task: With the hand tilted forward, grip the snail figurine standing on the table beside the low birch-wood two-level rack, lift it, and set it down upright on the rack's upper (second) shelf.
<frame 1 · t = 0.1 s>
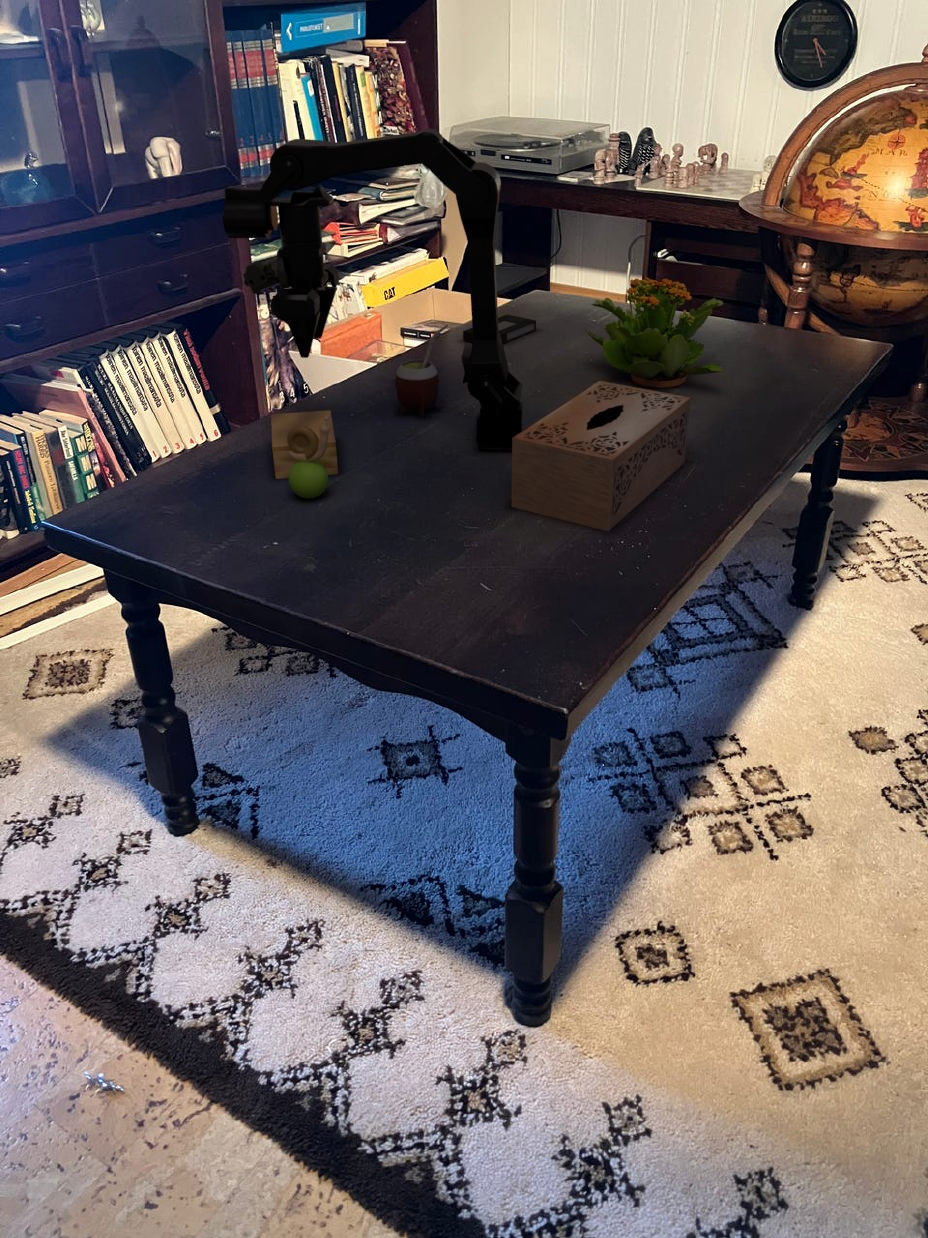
hand: (311, 347, 156), 15 cm above the table, tool pointing down, fingers open, 9 cm apart
snail figurine: (313, 498, 146), on the table
mate gourd: (421, 412, 174), on the table
potted flower: (658, 382, 185), on the table
vhs tape: (500, 336, 209), on the table
rack: (305, 459, 158), on the table
tissue box cover: (601, 485, 149), on the table
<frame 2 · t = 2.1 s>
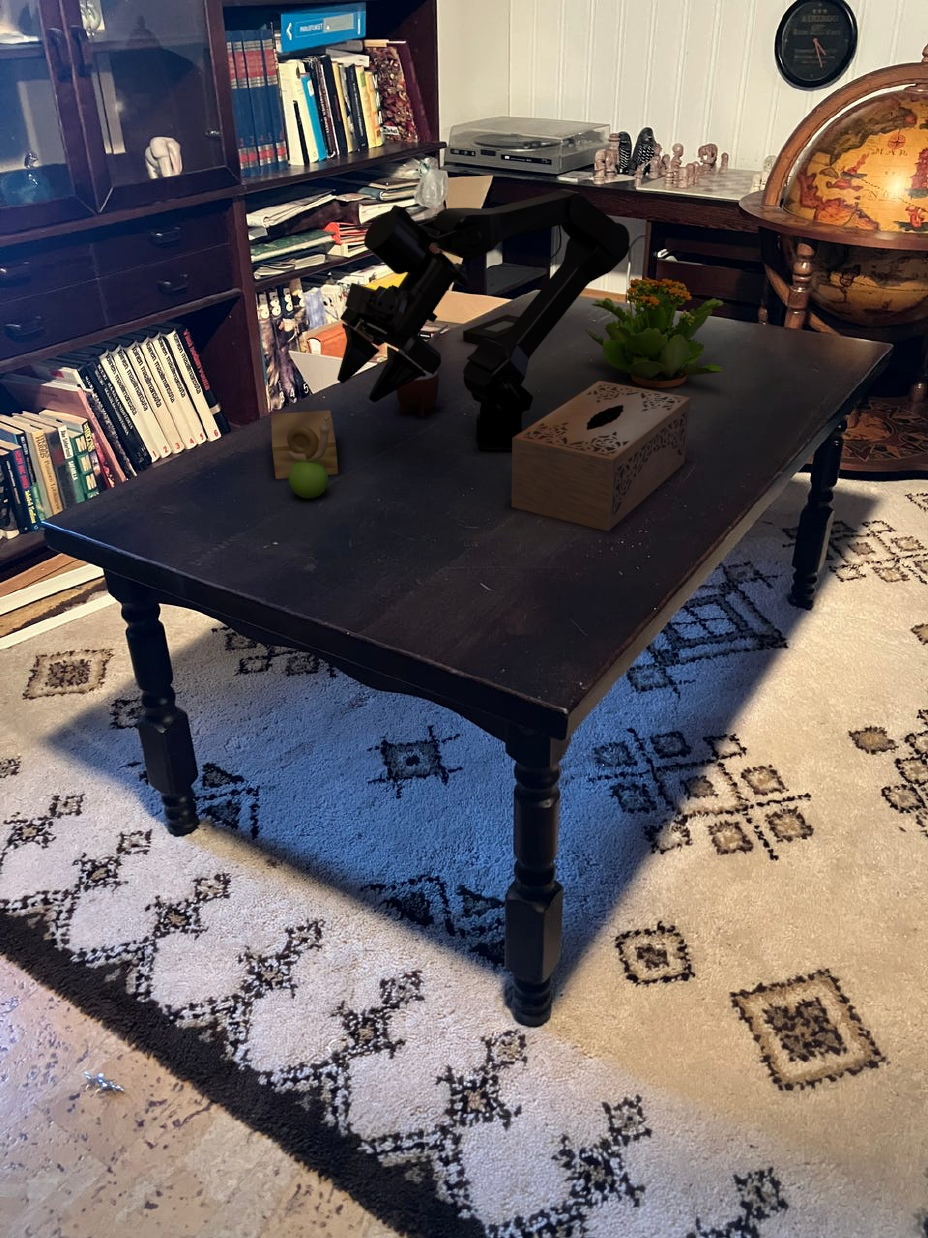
hand: (355, 390, 143), 13 cm above the table, tool tilted 45°, fingers open, 9 cm apart
nothing on the table moved.
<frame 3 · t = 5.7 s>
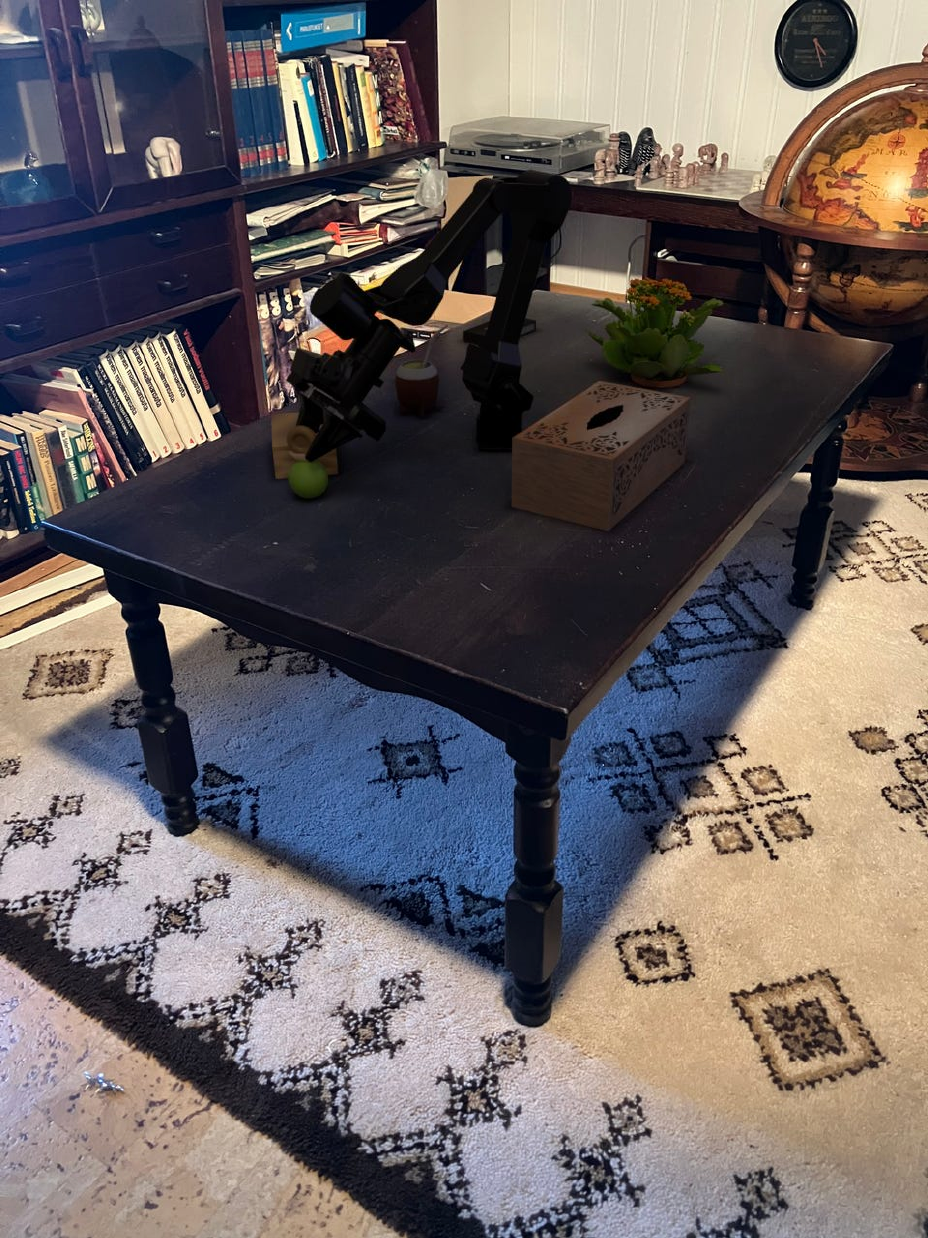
hand: (299, 454, 142), 7 cm above the table, tool tilted 45°, fingers closed on snail figurine, 4 cm apart
snail figurine: (313, 498, 146), on the table, touching gripper
everything else where it was.
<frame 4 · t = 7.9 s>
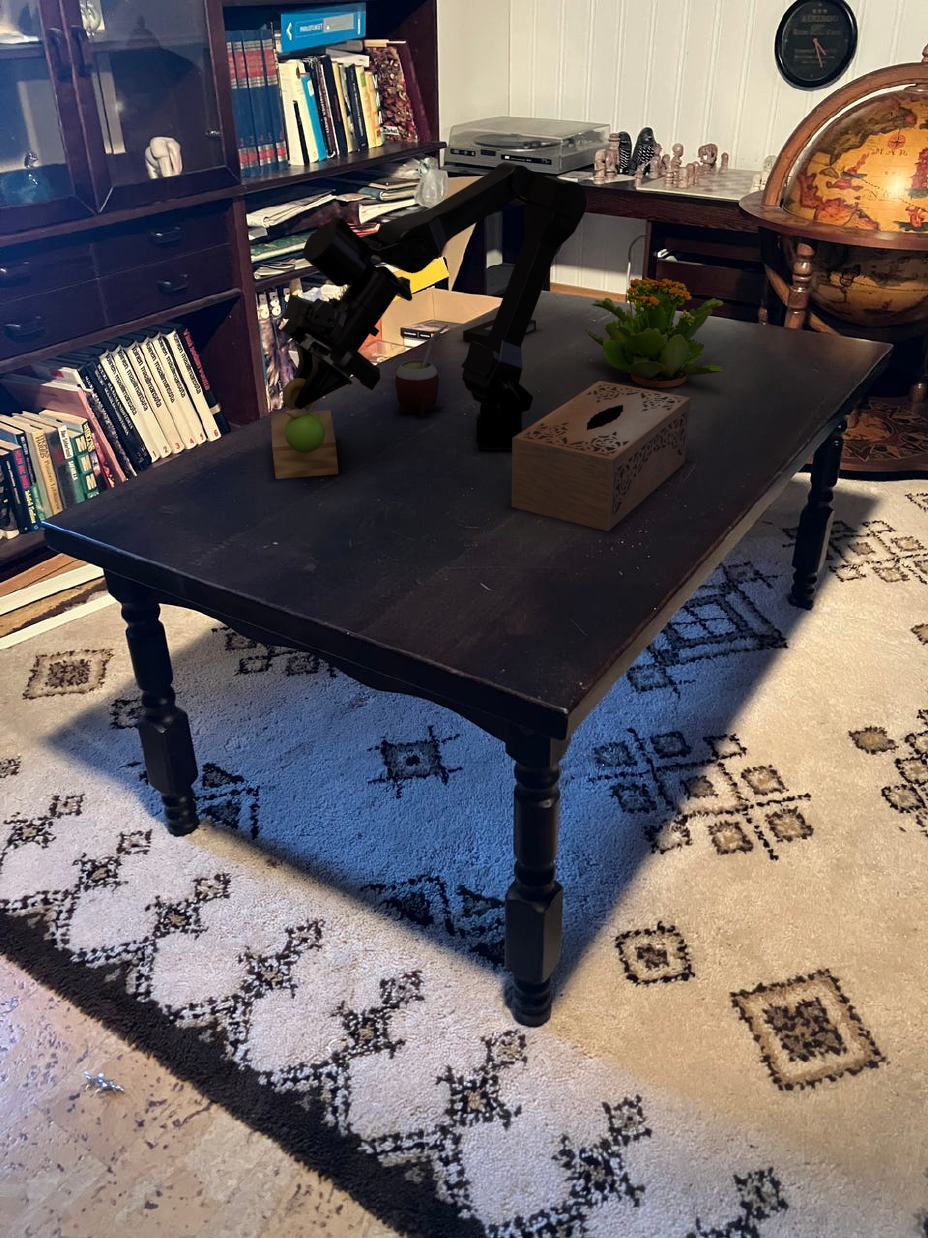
hand: (293, 405, 140), 13 cm above the table, tool tilted 45°, fingers closed on snail figurine
snail figurine: (310, 451, 144), point 6 cm above the table, touching gripper
everything else where it was.
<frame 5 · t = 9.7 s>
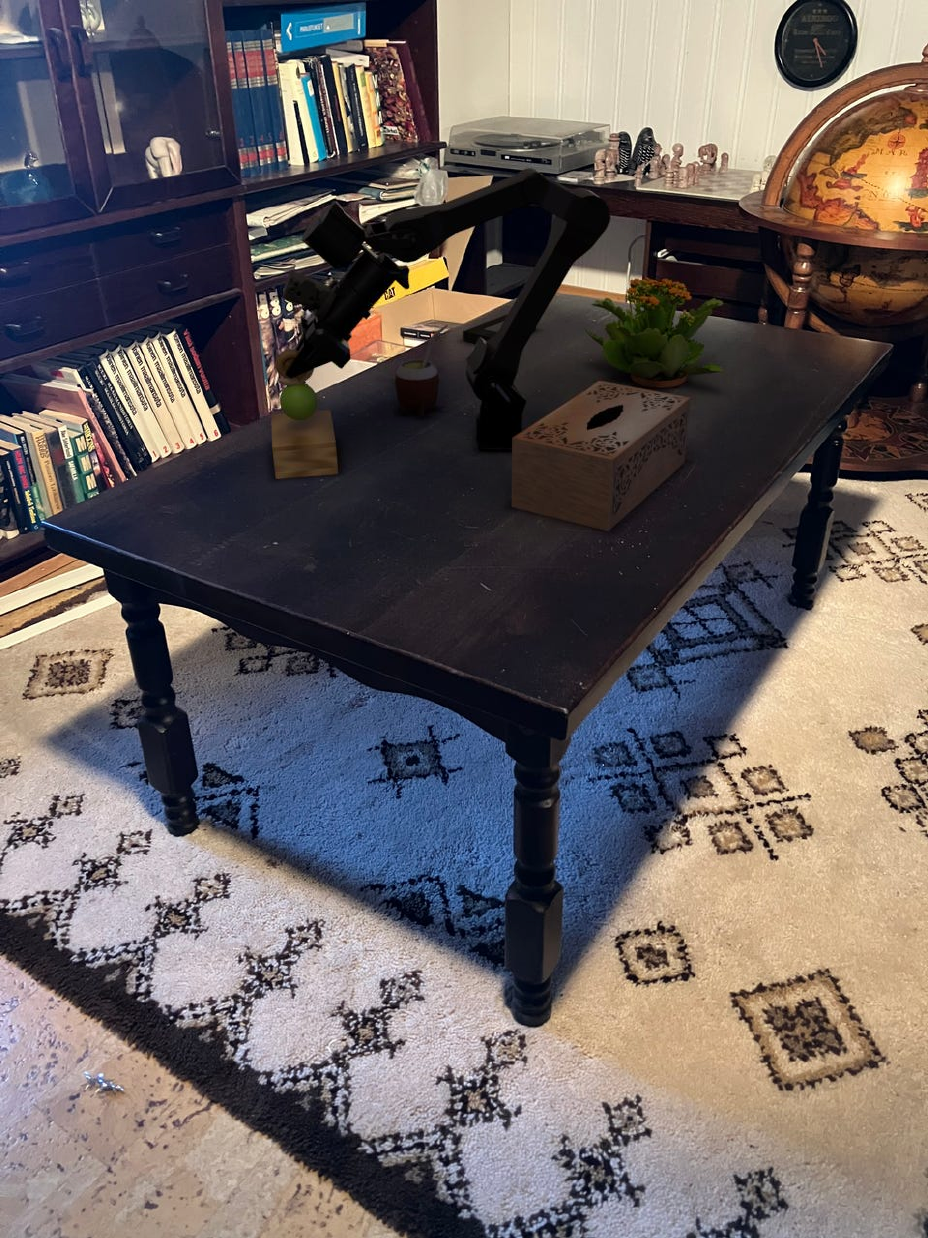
hand: (287, 374, 150), 13 cm above the table, tool tilted 45°, fingers closed on snail figurine
snail figurine: (304, 419, 154), point 6 cm above the table, touching gripper
everything else where it was.
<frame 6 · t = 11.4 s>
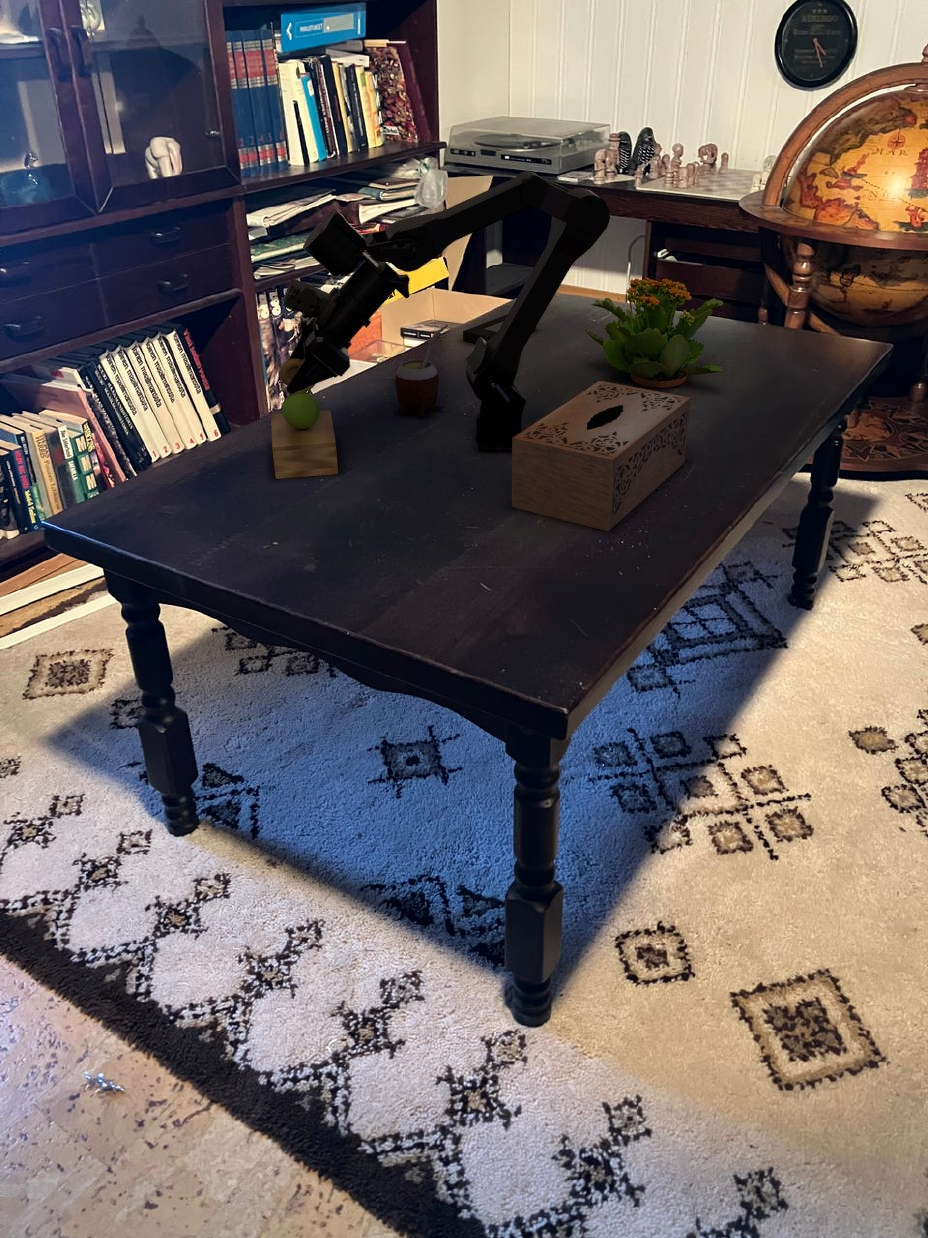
hand: (287, 380, 151), 12 cm above the table, tool tilted 45°, fingers open, 9 cm apart
snail figurine: (306, 428, 155), point 5 cm above the table, touching rack
everything else where it was.
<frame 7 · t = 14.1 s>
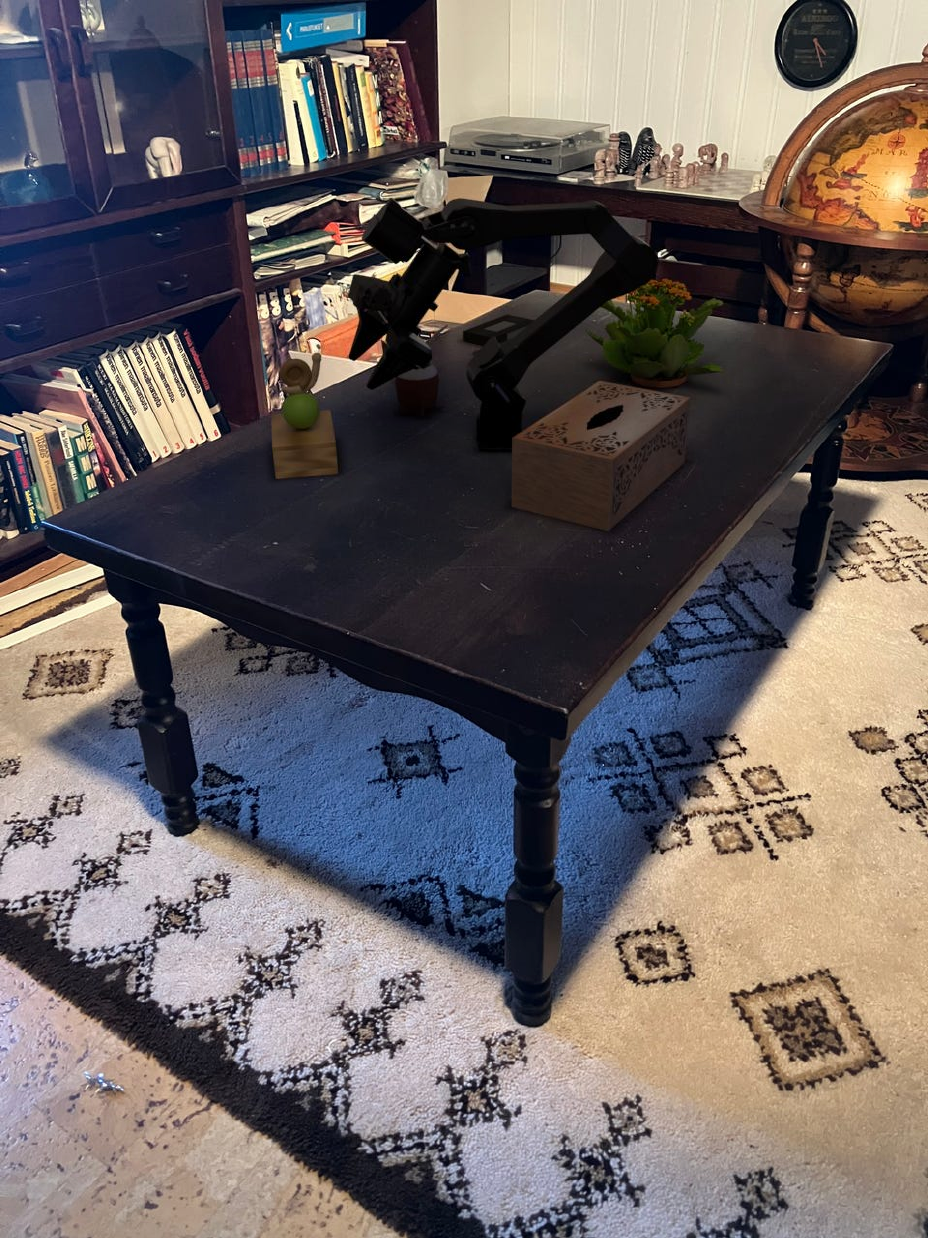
hand: (359, 373, 152), 13 cm above the table, tool tilted 40°, fingers open, 9 cm apart
nothing on the table moved.
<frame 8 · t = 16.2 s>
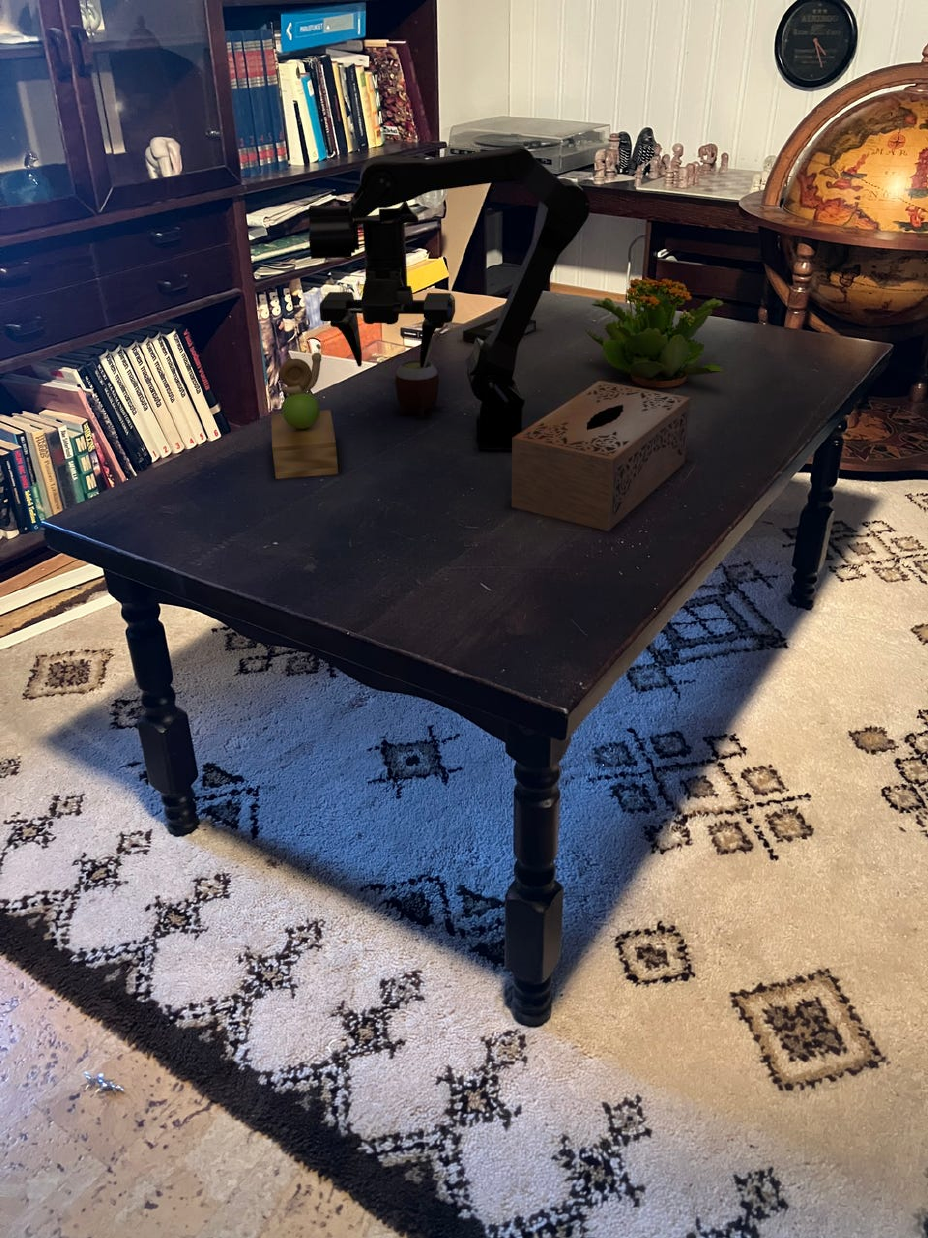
hand: (391, 366, 153), 13 cm above the table, tool pointing down, fingers open, 9 cm apart
nothing on the table moved.
at the end: snail figurine inside the target area on the rack (0.5 cm from its centre), point 4.8 cm above the rack's base; snail figurine tilted 0°; the gripper is holding nothing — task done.
